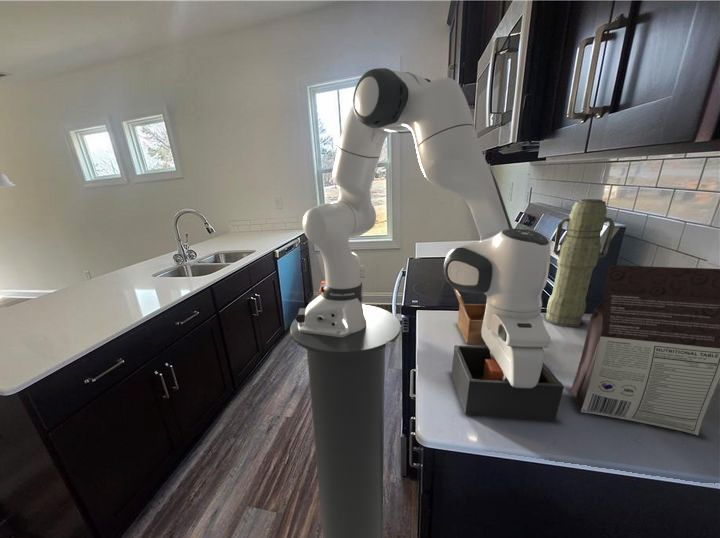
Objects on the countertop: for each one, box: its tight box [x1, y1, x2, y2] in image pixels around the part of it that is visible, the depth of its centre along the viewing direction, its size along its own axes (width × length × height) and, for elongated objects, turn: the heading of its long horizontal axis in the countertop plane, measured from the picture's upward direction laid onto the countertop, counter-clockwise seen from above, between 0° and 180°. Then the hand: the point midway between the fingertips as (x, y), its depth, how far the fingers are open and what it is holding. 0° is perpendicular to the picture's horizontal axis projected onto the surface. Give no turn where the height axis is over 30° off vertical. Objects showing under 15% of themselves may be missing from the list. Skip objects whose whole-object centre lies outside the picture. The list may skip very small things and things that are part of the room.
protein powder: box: [569, 264, 720, 436], centre depth 55 cm, size 16×9×28 cm, turn 66°
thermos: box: [545, 198, 616, 327], centre depth 90 cm, size 9×12×35 cm
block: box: [482, 359, 504, 381], centre depth 65 cm, size 4×4×6 cm
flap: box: [452, 287, 470, 318], centre depth 88 cm, size 7×12×1 cm
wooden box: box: [457, 303, 486, 345], centre depth 89 cm, size 14×12×7 cm
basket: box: [451, 344, 565, 422], centre depth 65 cm, size 16×14×8 cm
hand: (500, 378), depth 65 cm, fingers closed on block, 4 cm apart
